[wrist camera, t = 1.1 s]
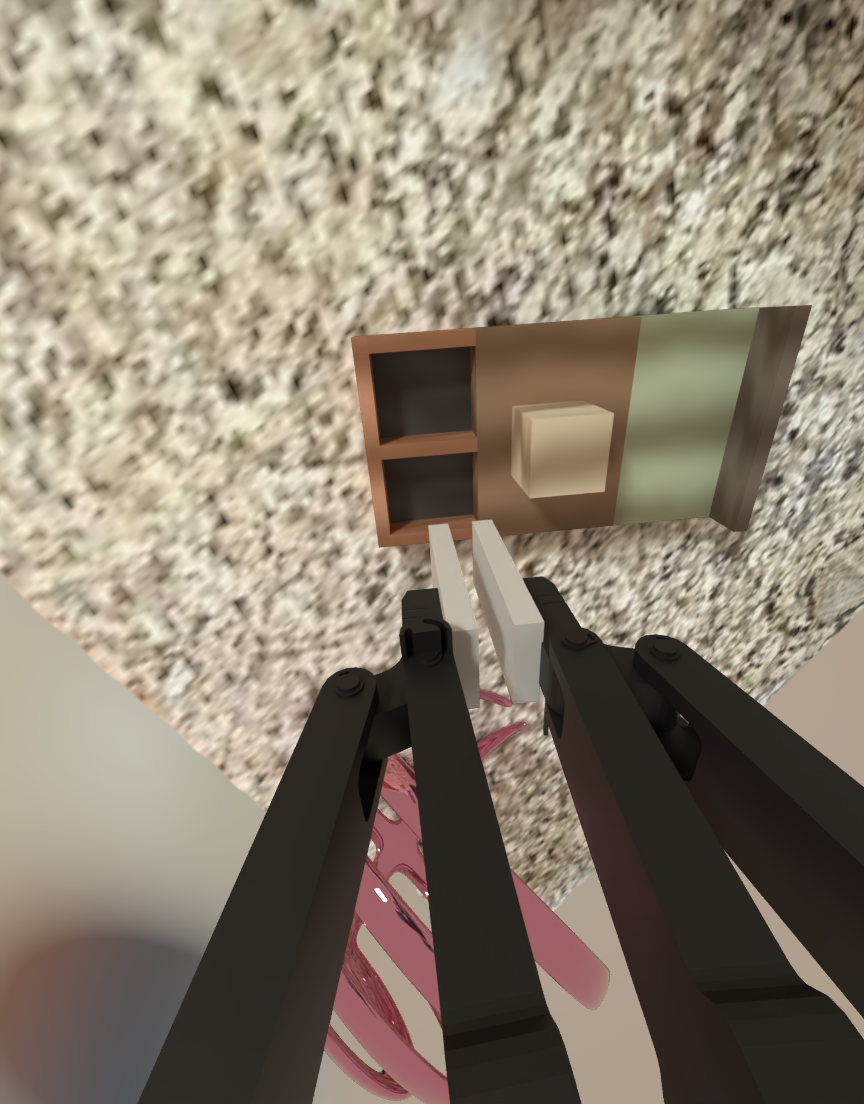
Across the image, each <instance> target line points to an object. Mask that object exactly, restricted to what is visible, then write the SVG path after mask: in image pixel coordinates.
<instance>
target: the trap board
mask: <svg viewBox="0 0 864 1104" xmlns="http://www.w3.org/2000/svg"><path fill="white" fill-rule="evenodd" d="M811 307H812V305H805V306H781V307H758V308H738V309H724V310H710V311H697V312H683V313H669V314H656V315H642V316H628V317H615V318H601V319H587V320H574V321H560V322H546V323H533V324H519V325H505V326H492V327H478V328H465V329H451V330H437V331H424V332H410V333H396V334H383V335H369V336H355V337H352V338H351V342H352V350H353V357H354V365H355V372H356V380H357V387H358V394H359V402H360V409H361V417H362V424H363V432H364V439H365V447H366V454H367V462H368V469H369V477H370V484H371V492H372V499H373V507H374V514H375V521H376V529H377V536H378V544H379V548H380V547H390V546H401V545H412V544H422V543H430V542H429V528H428V525H438V524H448V525H449V528H450V532H451V535H452V539H453V541H454V540H465V539H473V537H472V521H481V520H492V521H493V523H494V525H495V527H496V529H497V531H498V533H499V535H500V536H507V535H518V534H528V533H539V532H550V531H560V530H571V529H582V528H592V527H603V526H613V525H624V524H635V523H645V522H656V521H666V520H677V519H688V518H698V517H710V518H712V519H714V520H715V521H717V522H719V523H720V524H722V525H724V526H725V527H727V528H728V529H730V530H732V531H733V532H737V531H747V527H748V524H749V520H750V517H751V514H752V510H753V507H754V503H755V500H756V496H757V493H758V489H759V486H760V483H761V479H762V476H763V472H764V469H765V465H766V462H767V458H768V455H769V452H770V448H771V445H772V441H773V438H774V434H775V431H776V428H777V424H778V421H779V417H780V414H781V410H782V407H783V403H784V400H785V397H786V393H787V390H788V386H789V383H790V379H791V376H792V372H793V369H794V366H795V362H796V359H797V355H798V352H799V348H800V345H801V341H802V338H803V335H804V331H805V328H806V324H807V321H808V317H809V314H810V311H811ZM581 400H583V401H585V402H588V403H590V404H593V405H595V406H598V407H600V408H603V409H605V410H608V411H610V412H612V413H614V418H613V426H612V435H611V443H610V451H609V459H608V467H607V476H606V484H605V492H595V493H584V494H573V495H562V496H551V497H540V498H529V497H528V496H527V495H526V494H525V492H524V491H523V490H522V488H521V487H520V486H519V485H518V483H517V482H516V481H515V480H514V478H513V477H512V476H511V447H512V406H519V405H532V404H544V403H556V402H569V401H581Z"/></svg>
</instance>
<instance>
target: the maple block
mask: <svg viewBox="0 0 864 1104" xmlns="http://www.w3.org/2000/svg"><path fill="white" fill-rule="evenodd" d="M613 418H614V413H612V412H610V411H608V410H605V409H603V408H600V407H598V406H595V405H593V404H590V403H588V402H585V401H583V400H581V401H569V402H556V403H544V404H532V405H519V406H512V447H511V476H512V477H513V478H514V480H515V481H516V482H517V483H518V485H519V486H520V487H521V488H522V490H523V491H524V492H525V494H526V495H527V496H528V497H529V498H540V497H551V496H562V495H573V494H584V493H595V492H605V484H606V476H607V467H608V459H609V451H610V443H611V435H612V426H613Z"/></svg>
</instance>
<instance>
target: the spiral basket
mask: <svg viewBox="0 0 864 1104" xmlns="http://www.w3.org/2000/svg"><path fill="white" fill-rule="evenodd" d="M479 695H480V699H483V700H487V701H490V702H493V703H496V704H499V705H502V706H505V707H511V706H512V703H511V701H509V700H508V699H507V698H505V697H503V696H500V695H498V694H495V693H493V692H490V691H486V690H483V689H479ZM525 725H526V722H524V721H521V722H516V723H513V724H510V725H507V726H505V727H503V728H501V729H498V730H496V731H495V732H493V733H491V734H489V735H488V736H486V737H484V738H483V739H481V740H480V741H478V742H477V745H478V749H479V753H480V757H481V760H483V759H484V758H485V757H486V756H487V755H488V754H490V753H491V752H492V751H493V750H494V749H495V748H496V747H497V746H499V745H500V744H501V743H502V742H504V741H505V740H506V739H507V738H509V737H510V736H512V735H513V734H515V733H516V732H518V731H519V730H521V729H522V728H524V727H525ZM380 795H381V796H382V798H383V799H384V800H385V801H386V802H387V803H388V805H389V806H390V807H391V808H392V809H393V810H394V811H395V813H396V814H397V815H398V816H399V817H400V818H401V819H399V820H397V821H392V820H390V819H388V818H387V817H386V816H385V815H384V814H382V813H381V812H380V811H379V810H378V809H377V812H376V817H375V821H374V826H373V830H372V835H371V839H372V841H373V842H374V844H375V846H376V856H375V859H374V861H373V862H372V860H371V859H370V858H369V857H368V855H367V857H366V862H365V866H364V871H363V875H362V880H361V884H360V889H359V893H358V898H357V902H356V907H355V911H354V916H353V920H352V925H351V929H350V934H349V938H348V943H347V947H346V952H345V956H344V961H343V966H342V970H341V975H340V979H339V984H338V988H337V993H336V997H335V1002H334V1006H333V1009H334V1011H335V1012H336V1013H337V1015H338V1016H339V1018H340V1019H341V1020H342V1021H343V1023H344V1024H345V1026H346V1027H347V1028H348V1029H349V1031H350V1032H351V1033H352V1034H353V1036H354V1037H355V1038H356V1039H357V1041H358V1042H359V1043H360V1044H361V1045H362V1047H363V1048H364V1049H365V1050H366V1051H367V1052H368V1053H369V1055H370V1056H371V1057H372V1058H373V1059H374V1060H375V1061H376V1062H377V1063H378V1064H379V1065H380V1066H381V1067H382V1068H383V1070H382V1071H381V1072H377V1071H375V1070H374V1069H372V1068H371V1067H369V1066H368V1065H367V1064H365V1063H364V1062H363V1061H362V1060H361V1059H360V1058H358V1057H357V1055H356V1054H355V1053H354V1052H353V1051H352V1050H350V1048H349V1047H348V1046H347V1045H346V1044H345V1043H344V1041H343V1040H342V1039H341V1038H340V1037H339V1035H338V1034H337V1033H336V1032H335V1030H334V1029H333V1028H332V1027H331V1025H330V1024H329V1029H328V1033H327V1038H326V1042H325V1047H324V1051H325V1052H326V1053H327V1055H328V1056H329V1057H330V1058H331V1059H332V1060H333V1061H334V1063H335V1064H336V1065H337V1066H338V1067H339V1068H340V1069H341V1070H342V1071H343V1072H344V1073H345V1074H346V1075H347V1076H349V1077H350V1078H351V1079H352V1080H353V1081H354V1082H356V1083H357V1084H358V1085H360V1086H361V1087H362V1088H364V1089H366V1090H367V1091H369V1092H371V1093H373V1094H374V1095H377V1096H379V1097H381V1098H384V1099H388V1100H393V1101H401V1100H405V1099H407V1098H409V1097H410V1096H411V1095H413V1096H415V1097H416V1098H417V1099H419V1100H420V1101H422V1102H423V1103H425V1104H450V1099H449V1090H448V1080H447V1077H446V1076H444V1075H443V1074H442V1073H441V1072H439V1071H438V1070H437V1069H436V1068H435V1067H433V1066H432V1065H431V1064H430V1063H429V1062H428V1061H427V1060H426V1059H425V1058H423V1057H422V1056H421V1055H420V1054H419V1053H418V1052H417V1051H416V1050H415V1049H414V1046H413V1043H412V1040H411V1037H410V1034H409V1032H408V1029H407V1027H406V1025H405V1022H404V1020H403V1018H402V1016H401V1014H400V1012H399V1010H398V1008H397V1006H396V1004H395V1002H394V1000H393V999H392V997H391V995H390V993H389V992H388V990H387V988H386V986H385V985H384V983H383V982H382V980H381V979H380V977H379V976H378V974H377V973H376V971H375V970H374V968H373V967H372V965H371V964H370V963H369V961H368V960H367V959H366V957H365V956H364V955H363V954H362V952H361V951H360V949H359V948H358V945H357V940H356V939H357V933H358V931H359V929H360V927H361V925H362V924H364V925H365V926H366V928H367V929H368V930H369V932H370V933H371V934H372V935H373V937H374V938H375V939H376V941H377V942H378V943H379V944H380V946H381V947H382V948H383V949H384V951H385V952H386V953H387V954H388V956H389V957H390V958H391V959H392V960H393V962H394V963H395V964H396V965H397V967H398V968H399V969H400V970H401V971H402V973H403V974H404V975H405V976H406V977H407V978H408V980H409V981H410V982H411V983H412V984H413V985H414V986H415V987H416V989H417V990H418V991H419V992H420V993H421V994H422V995H423V997H424V998H425V999H426V1000H427V1001H428V1003H429V1005H430V1006H431V1008H432V1010H433V1012H434V1014H435V1016H436V1018H437V1020H438V1022H439V1024H440V1026H441V1028H442V1020H441V1011H440V1002H439V993H438V983H437V974H436V965H435V956H434V947H433V937H432V932H431V931H430V930H429V929H428V928H427V927H426V925H425V924H424V923H423V922H422V921H421V920H420V919H419V918H418V916H417V915H416V914H415V913H414V912H413V911H412V909H411V908H410V907H409V906H408V905H407V903H406V902H405V901H404V900H403V899H402V897H401V896H400V895H399V894H398V893H397V892H396V890H395V889H394V888H393V887H392V885H391V884H390V883H389V882H388V880H389V878H390V877H391V876H392V875H393V874H394V873H396V872H400V873H402V874H404V875H405V876H407V877H408V878H409V879H410V880H411V882H412V883H413V884H414V885H415V886H416V887H417V888H418V890H419V891H420V892H421V893H422V894H423V895H424V897H425V898H426V899H427V900H428V891H427V882H426V873H425V864H424V856H423V854H422V853H421V852H420V850H419V847H418V838H419V839H420V841H421V842H422V836H421V827H420V818H419V808H418V799H417V790H416V781H415V772H414V770H413V769H412V768H411V767H410V766H409V765H408V764H407V763H406V762H405V761H404V760H403V759H402V758H401V757H400V756H399V755H398V754H397V753H396V754H394V755H391V756H389V757H388V762H387V767H386V772H385V776H384V781H383V785H382V790H381V794H380ZM510 870H511V873H512V877H513V881H514V885H515V889H516V892H517V896H518V900H519V904H520V907H521V911H522V915H523V919H524V922H525V926H526V930H527V934H528V938H529V941H530V945H531V949H532V953H533V956H534V960H535V961H536V962H537V963H538V964H539V965H540V966H541V967H542V968H543V969H544V970H545V971H546V972H547V973H548V974H549V975H550V976H551V977H552V978H553V979H554V980H555V981H556V982H557V983H558V984H559V985H560V986H562V987H563V988H564V989H565V990H566V991H567V992H568V993H569V994H570V995H572V996H573V997H574V998H575V999H576V1000H577V1001H579V1002H580V1003H581V1004H582V1005H583V1006H585V1007H586V1008H588V1009H590V1010H595V1009H597V1008H598V1007H599V1006H600V1004H601V1003H602V1001H603V999H604V996H605V994H606V992H607V989H608V985H609V981H610V971H609V969H608V968H607V967H606V966H605V964H604V963H603V962H602V961H601V960H600V959H599V958H598V957H597V956H596V955H595V954H594V953H593V952H592V951H591V950H590V949H589V948H588V947H587V946H586V945H585V944H584V943H583V942H582V941H581V940H580V939H579V938H578V937H577V936H576V935H575V933H573V932H572V930H571V929H570V928H569V927H568V926H567V925H566V924H565V923H564V922H563V921H562V920H561V919H560V918H559V917H558V916H557V915H556V914H555V913H554V912H553V911H552V910H551V909H550V908H549V907H548V906H547V905H546V904H545V903H544V902H543V901H542V900H541V899H540V898H539V897H538V896H537V895H536V894H535V893H534V892H533V891H532V890H531V889H530V888H529V887H528V885H527V884H526V883H525V882H524V881H523V880H522V879H521V878H520V877H519V876H518V875H517V874H516V873H515V872H514V871H513V870H512V869H511V868H510Z"/></svg>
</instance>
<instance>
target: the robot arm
mask: <svg viewBox="0 0 864 1104" xmlns="http://www.w3.org/2000/svg"><path fill="white" fill-rule="evenodd" d="M428 528H429V542H430V555H431V568H432V582H433V588H432V589H422V590H411V591H407V592H406V594H405V596H404V597H403V599H402V626H403V627H402V628H401V630H400V634H399V637H400V645H401V653H402V657H401V659H400V661H399V662H398V663H397V664H396V665H395V666H394V667H392V668H391V669H389V670H387V671H385V672H382V673H380V674H377V675H373V674H372V673H371V672H369V671H368V670H366V669H363V668H357V667H355V668H346V669H343V670H341V671H338V672H336V673H334V674H333V675H332V676H330V677H329V678H328V679H327V680H326V682H325V683H324V684H323V686H322V688H321V691H320V693H319V695H318V697H317V700H316V702H315V704H314V706H313V709H312V711H311V713H310V715H309V718H308V720H307V722H306V724H305V727H304V729H303V731H302V733H301V736H300V738H299V740H298V743H297V745H296V747H295V749H294V752H293V754H292V756H291V758H290V761H289V763H288V765H287V767H286V770H285V772H284V774H283V776H282V779H281V781H280V783H279V785H278V788H277V790H276V792H275V794H274V797H273V799H272V801H271V803H270V806H269V808H268V810H267V812H266V815H265V817H264V820H263V822H262V824H261V826H260V828H259V831H258V833H257V835H256V837H255V840H254V842H253V844H252V846H251V849H250V851H249V853H248V855H247V858H246V860H245V862H244V864H243V867H242V869H241V872H240V873H239V876H238V878H237V880H236V882H235V885H234V887H233V889H232V892H231V894H230V896H229V898H228V901H227V903H226V905H225V907H224V910H223V912H222V914H221V916H220V919H219V921H218V923H217V926H216V928H215V930H214V932H213V934H212V937H211V939H210V941H209V943H208V946H207V948H206V950H205V953H204V955H203V957H202V959H201V962H200V964H199V966H198V968H197V971H196V973H195V975H194V977H193V979H192V982H191V984H190V987H189V989H188V991H187V993H186V995H185V998H184V1000H183V1002H182V1004H181V1007H180V1009H179V1011H178V1014H177V1016H176V1018H175V1020H174V1023H173V1025H172V1027H171V1029H170V1031H169V1034H168V1036H167V1038H166V1040H165V1043H164V1045H163V1047H162V1049H161V1052H160V1054H159V1056H158V1059H157V1061H156V1063H155V1065H154V1067H153V1070H152V1072H151V1074H150V1077H149V1079H148V1081H147V1083H146V1086H145V1088H144V1090H143V1092H142V1095H141V1097H140V1099H139V1101H138V1104H312V1101H313V1096H314V1092H315V1087H316V1083H317V1078H318V1074H319V1069H320V1064H321V1060H322V1056H323V1051H324V1047H325V1042H326V1038H327V1033H328V1029H329V1024H330V1020H331V1015H332V1010H333V1006H334V1002H335V997H336V993H337V988H338V984H339V979H340V975H341V970H342V966H343V961H344V956H345V952H346V947H347V943H348V938H349V934H350V929H351V925H352V920H353V916H354V911H355V907H356V902H357V898H358V893H359V889H360V884H361V880H362V875H363V871H364V866H365V862H366V857H367V853H368V848H369V844H370V839H371V835H372V830H373V826H374V821H375V817H376V812H377V808H378V803H379V799H380V794H381V790H382V785H383V781H384V776H385V772H386V767H387V762H388V757H389V756H391V755H394V754H396V753H398V752H401V751H403V750H405V749H408V748H410V747H412V753H413V762H414V772H415V781H416V790H417V799H418V808H419V818H420V827H421V836H422V845H423V855H424V864H425V873H426V882H427V891H428V901H429V910H430V919H431V928H432V937H433V947H434V956H435V965H436V974H437V983H438V993H439V1002H440V1011H441V1020H442V1030H443V1040H444V1051H445V1061H446V1071H447V1080H448V1090H449V1099H450V1104H581V1100H580V1096H579V1093H578V1089H577V1086H576V1082H575V1078H574V1075H573V1071H572V1068H571V1065H570V1062H569V1058H568V1055H567V1051H566V1048H565V1045H564V1042H563V1040H562V1037H561V1034H560V1032H559V1029H558V1026H557V1025H556V1023H555V1022H554V1020H553V1018H552V1016H551V1015H550V1012H549V1010H548V1007H547V1004H546V1001H545V998H544V994H543V990H542V987H541V983H540V979H539V975H538V971H537V968H536V964H535V960H534V956H533V953H532V949H531V945H530V941H529V938H528V934H527V930H526V926H525V922H524V919H523V915H522V911H521V907H520V904H519V900H518V896H517V892H516V889H515V885H514V881H513V877H512V873H511V870H510V866H509V862H508V858H507V855H506V851H505V847H504V843H503V840H502V836H501V832H500V828H499V824H498V821H497V817H496V813H495V809H494V806H493V802H492V798H491V794H490V791H489V787H488V783H487V779H486V775H485V772H484V768H483V764H482V760H481V757H480V753H479V749H478V745H477V741H476V738H475V734H474V730H473V726H472V723H471V719H470V715H469V711H468V709H473V708H480V695H479V644H478V626H477V623H476V619H475V616H474V612H473V609H472V605H471V602H470V598H469V595H468V591H467V588H466V584H465V581H464V577H463V574H462V570H461V567H460V563H459V560H458V556H457V553H456V549H455V546H454V542H453V539H452V535H451V532H450V528H449V525H448V524H438V525H428ZM472 537H473V578H474V585H475V588H476V591H477V595H478V598H479V601H480V604H481V607H482V610H483V613H484V616H485V620H486V623H487V626H488V629H489V632H490V635H491V638H492V642H493V645H494V648H495V651H496V654H497V657H498V660H499V663H500V667H501V670H502V673H503V676H504V679H505V682H506V685H507V688H508V692H509V695H510V698H511V701H512V704H518V703H527V702H536V701H539V697H540V687H541V690H542V692H543V695H544V697H545V711H544V725H543V732H544V735H548V727H549V729H550V732H551V735H552V738H553V741H554V744H555V747H556V750H557V753H558V756H559V759H560V762H561V765H562V768H563V771H564V774H565V777H566V780H567V783H568V786H569V789H570V792H571V795H572V799H573V802H574V805H575V808H576V811H577V814H578V817H579V820H580V823H581V826H582V829H583V832H584V835H585V838H586V841H587V844H588V847H589V850H590V853H591V856H592V859H593V862H594V865H595V868H596V871H597V874H598V878H599V880H600V884H601V887H602V889H603V893H604V896H605V899H606V902H607V905H608V908H609V911H610V914H611V917H612V920H613V923H614V926H615V929H616V932H617V935H618V938H619V941H620V944H621V947H622V950H623V953H624V956H625V959H626V963H627V966H628V969H629V972H630V975H631V978H632V981H633V984H634V987H635V990H636V993H637V996H638V999H639V1002H640V1005H641V1008H642V1011H643V1014H644V1017H645V1020H646V1023H647V1026H648V1029H649V1033H650V1035H651V1039H652V1042H653V1045H654V1048H655V1051H656V1055H657V1058H658V1063H659V1067H660V1073H661V1082H662V1090H663V1098H664V1102H665V1104H864V1039H863V1038H862V1036H861V1035H860V1033H859V1032H858V1031H857V1029H856V1028H855V1027H854V1025H853V1024H852V1022H851V1021H850V1020H849V1018H848V1017H847V1015H846V1014H845V1013H844V1012H843V1011H842V1010H841V1009H840V1008H839V1007H838V1006H837V1005H836V1003H834V1001H832V999H830V997H829V996H827V995H825V994H824V993H822V992H820V991H818V990H816V989H814V988H812V987H811V986H809V985H807V984H806V983H805V982H804V981H803V980H802V979H801V978H800V977H799V976H798V975H797V973H796V972H795V970H794V969H793V967H792V966H791V965H790V963H789V961H788V959H787V958H786V956H785V954H784V953H783V951H782V949H781V947H780V946H779V944H778V942H777V941H776V939H775V937H774V936H773V934H772V932H771V930H770V929H769V927H768V925H767V924H766V922H765V920H764V918H763V917H762V915H761V913H760V912H759V910H758V908H757V906H756V905H755V903H754V901H753V899H752V898H751V896H750V894H749V893H748V891H747V889H746V887H745V886H744V884H743V882H742V881H741V879H740V877H739V875H738V874H737V872H736V870H735V869H734V867H733V865H732V864H731V862H730V860H729V858H728V857H727V855H726V853H727V854H728V855H729V857H730V858H731V859H732V860H733V861H734V863H735V864H736V865H737V866H738V867H739V869H740V870H741V871H742V872H743V873H744V875H745V876H746V877H747V878H748V879H749V881H750V882H751V883H752V884H753V885H754V887H755V888H756V889H757V890H758V892H759V893H760V894H761V895H762V896H763V897H764V899H765V900H766V901H767V902H768V904H769V905H770V906H771V907H772V908H773V910H774V911H775V912H776V913H777V914H778V916H779V917H780V918H781V919H782V920H783V922H784V923H785V924H786V925H787V926H788V928H789V929H790V930H791V931H792V933H793V934H794V935H795V936H796V937H797V939H798V940H799V941H800V942H801V943H802V945H803V946H804V947H805V948H806V949H807V951H808V952H809V953H810V954H811V955H812V956H813V958H814V959H815V960H816V961H817V963H818V964H819V965H820V966H821V968H822V969H823V970H824V971H825V972H826V974H827V975H828V976H829V977H830V978H831V980H832V981H833V982H834V983H835V984H836V986H837V987H838V988H839V989H840V990H841V992H842V993H843V994H844V995H845V997H846V998H847V999H848V1000H849V1001H850V1003H851V1004H852V1005H853V1006H854V1007H855V1009H856V1010H857V1011H858V1012H859V1013H860V1015H861V1016H862V1017H863V1018H864V787H863V786H862V785H860V784H859V783H858V782H857V781H855V780H854V779H853V778H852V777H851V776H849V775H848V774H847V773H846V772H844V771H843V770H842V769H840V768H839V767H838V766H837V765H836V764H834V763H833V762H832V761H831V760H829V759H828V758H827V757H825V756H824V755H823V754H822V753H821V752H819V751H818V750H817V749H815V748H814V747H813V746H812V745H811V744H809V743H808V742H807V741H805V740H804V739H803V738H802V737H801V736H799V735H798V734H797V733H795V732H794V731H793V730H792V729H791V728H789V727H788V726H787V725H785V724H784V723H783V722H782V721H781V720H779V719H778V718H777V717H776V716H774V715H773V714H772V713H771V712H769V711H768V710H767V709H766V708H764V707H763V706H762V705H761V704H759V703H758V702H757V701H756V700H754V699H753V698H752V697H751V696H749V695H748V694H747V693H746V692H744V691H743V690H742V689H741V688H739V687H738V686H737V685H736V684H734V683H733V682H732V681H731V680H729V679H728V678H727V677H726V676H724V675H723V674H722V673H721V672H719V671H718V670H717V669H716V668H714V667H713V666H712V665H711V664H709V663H708V662H707V661H706V660H704V659H703V658H702V657H701V656H699V655H698V654H697V653H696V652H694V651H693V650H692V649H691V648H689V647H688V646H687V645H685V644H684V643H682V642H681V641H679V640H677V639H674V638H671V637H668V636H664V635H656V634H655V635H646V636H644V637H642V638H639V640H638V641H637V642H636V644H635V649H633V648H625V647H616V646H610V645H606V644H603V642H602V640H601V639H600V638H599V637H598V636H597V635H596V634H595V633H593V632H592V631H590V630H588V629H585V628H581V626H580V625H579V623H578V621H577V620H576V618H575V617H574V615H573V613H572V612H571V610H570V609H569V607H568V605H567V604H566V603H565V601H564V599H563V597H562V596H561V595H560V593H559V591H558V589H557V588H556V586H555V585H554V584H553V583H552V582H550V581H549V580H547V579H546V578H544V577H532V578H522V577H521V575H520V573H519V572H518V570H517V568H516V566H515V564H514V562H513V560H512V558H511V556H510V554H509V552H508V550H507V548H506V546H505V544H504V542H503V540H502V538H501V537H500V535H499V533H498V531H497V529H496V527H495V525H494V523H493V521H492V520H481V521H472ZM680 714H681V715H682V716H683V717H684V718H685V719H686V720H687V721H688V722H689V723H687V722H686V721H685V720H684V719H683V718H682V717H681V716H680ZM723 849H724V850H725V851H724V850H723ZM725 852H726V853H725Z"/></svg>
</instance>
